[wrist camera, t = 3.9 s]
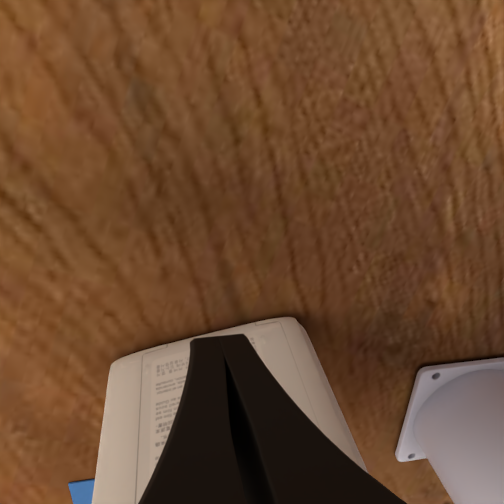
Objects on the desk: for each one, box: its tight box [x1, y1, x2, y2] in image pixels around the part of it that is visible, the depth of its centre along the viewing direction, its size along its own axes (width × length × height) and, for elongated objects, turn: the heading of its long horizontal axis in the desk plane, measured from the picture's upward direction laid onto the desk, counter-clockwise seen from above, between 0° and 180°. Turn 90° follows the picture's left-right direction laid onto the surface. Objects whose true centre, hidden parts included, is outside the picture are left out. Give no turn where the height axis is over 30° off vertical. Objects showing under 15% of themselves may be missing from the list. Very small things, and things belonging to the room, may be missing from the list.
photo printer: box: [92, 317, 368, 504], centre depth 18 cm, size 10×4×12 cm, turn 100°
